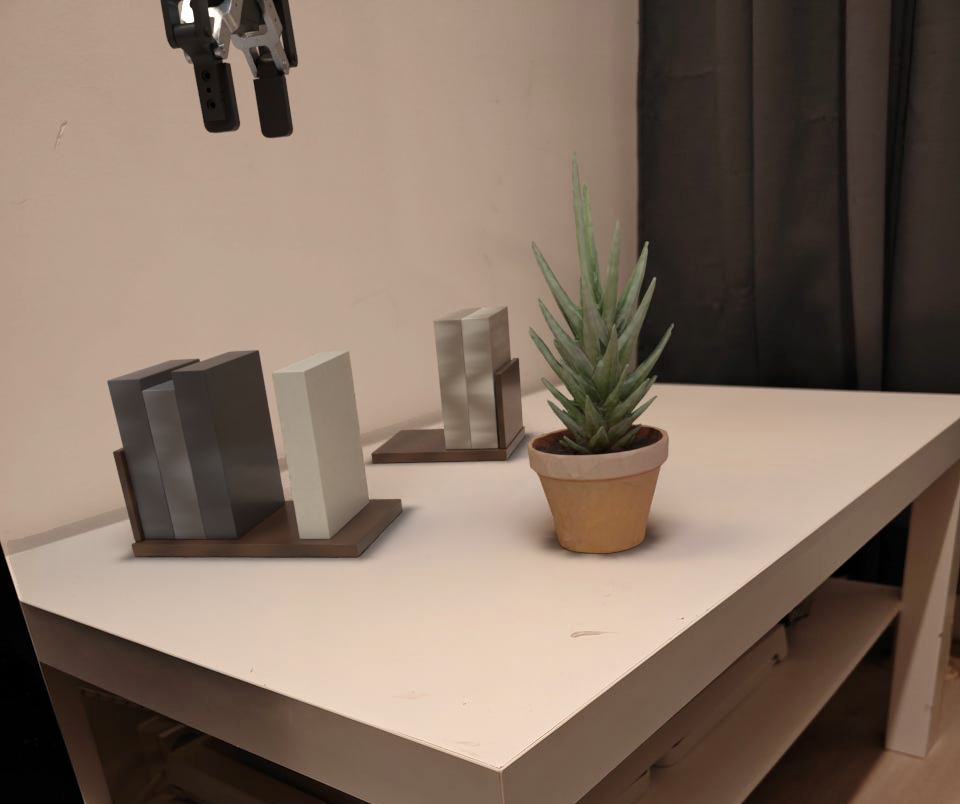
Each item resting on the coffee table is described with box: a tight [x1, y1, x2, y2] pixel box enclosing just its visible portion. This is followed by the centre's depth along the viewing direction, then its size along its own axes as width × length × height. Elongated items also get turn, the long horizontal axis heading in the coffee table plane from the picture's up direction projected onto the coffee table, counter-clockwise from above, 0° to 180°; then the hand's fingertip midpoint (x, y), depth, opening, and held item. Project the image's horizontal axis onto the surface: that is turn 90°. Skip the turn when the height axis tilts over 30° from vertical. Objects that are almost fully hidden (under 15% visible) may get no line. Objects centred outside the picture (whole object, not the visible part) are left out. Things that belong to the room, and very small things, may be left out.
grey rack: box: [106, 349, 403, 558], centre depth 71 cm, size 18×11×13 cm, turn 77°
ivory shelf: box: [371, 305, 526, 464], centre depth 92 cm, size 14×10×13 cm
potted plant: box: [527, 151, 675, 554], centre depth 61 cm, size 10×10×25 cm
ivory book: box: [271, 350, 370, 539], centre depth 70 cm, size 2×9×12 cm, turn 168°
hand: (252, 134), depth 64 cm, fingers open, 8 cm apart
